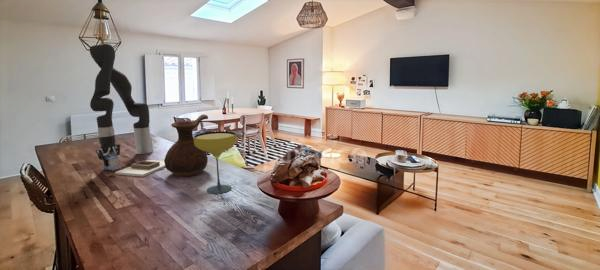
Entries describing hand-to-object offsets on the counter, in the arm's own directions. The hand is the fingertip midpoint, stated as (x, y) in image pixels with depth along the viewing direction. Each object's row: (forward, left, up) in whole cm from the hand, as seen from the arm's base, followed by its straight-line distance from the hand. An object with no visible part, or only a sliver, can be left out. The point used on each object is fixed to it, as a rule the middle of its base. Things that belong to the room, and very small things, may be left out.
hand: (111, 164), depth 178 cm
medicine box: (0, 0, -3) cm, 3 cm away
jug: (-5, +46, -3) cm, 46 cm away
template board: (-6, +18, -3) cm, 19 cm away
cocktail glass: (+13, +75, -3) cm, 76 cm away
